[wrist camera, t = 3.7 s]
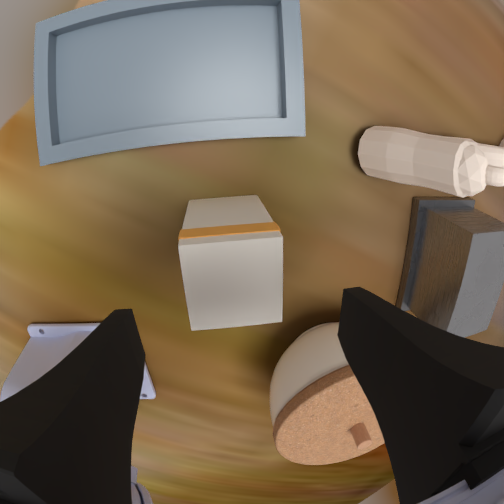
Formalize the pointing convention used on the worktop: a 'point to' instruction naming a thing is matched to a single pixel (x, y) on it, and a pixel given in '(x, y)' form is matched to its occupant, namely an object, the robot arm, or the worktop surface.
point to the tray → (166, 74)
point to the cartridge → (231, 263)
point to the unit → (452, 265)
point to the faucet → (431, 160)
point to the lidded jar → (320, 402)
